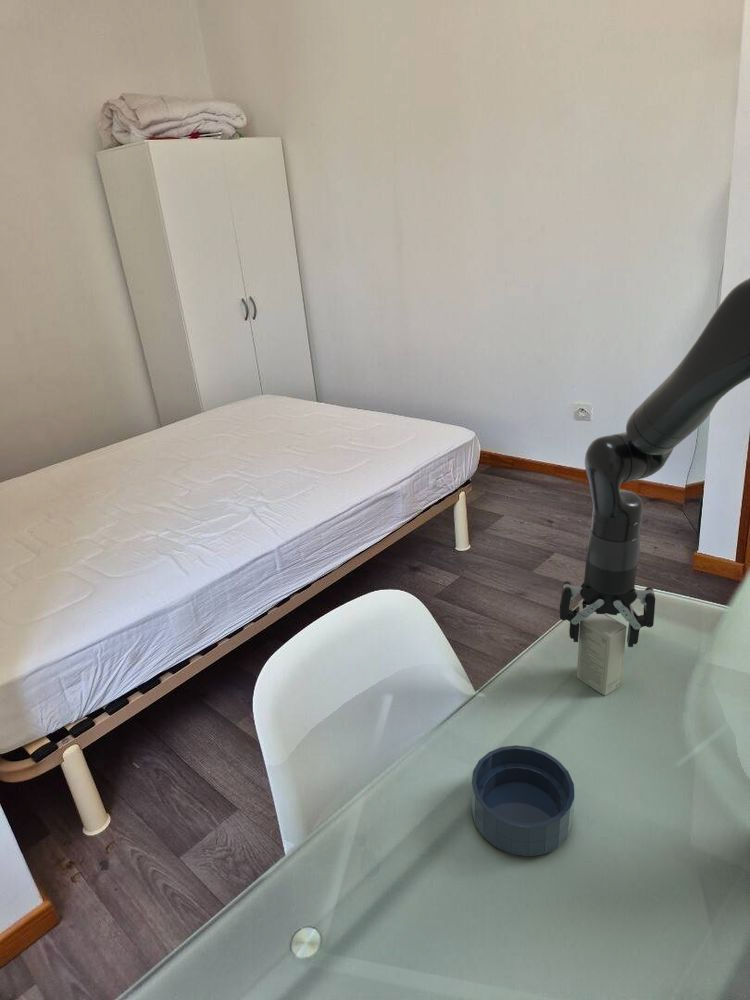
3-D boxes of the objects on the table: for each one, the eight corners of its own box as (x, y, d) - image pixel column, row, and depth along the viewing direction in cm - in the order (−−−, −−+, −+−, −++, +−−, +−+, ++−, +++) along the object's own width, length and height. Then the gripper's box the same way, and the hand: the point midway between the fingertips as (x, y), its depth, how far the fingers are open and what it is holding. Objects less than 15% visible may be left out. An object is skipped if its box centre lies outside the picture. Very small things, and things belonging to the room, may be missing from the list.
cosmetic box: (621, 686, 115) (629, 626, 109) (603, 697, 112) (611, 637, 107) (591, 666, 119) (597, 608, 114) (574, 677, 117) (579, 618, 112)
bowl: (569, 782, 98) (572, 751, 95) (572, 866, 86) (576, 834, 84) (476, 770, 100) (476, 740, 98) (467, 850, 89) (467, 818, 86)
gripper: (564, 566, 104) (558, 652, 111) (665, 572, 100) (651, 660, 108) (563, 541, 110) (557, 624, 117) (657, 547, 107) (645, 631, 114)
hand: (602, 641), depth 112 cm, fingers open, 8 cm apart
